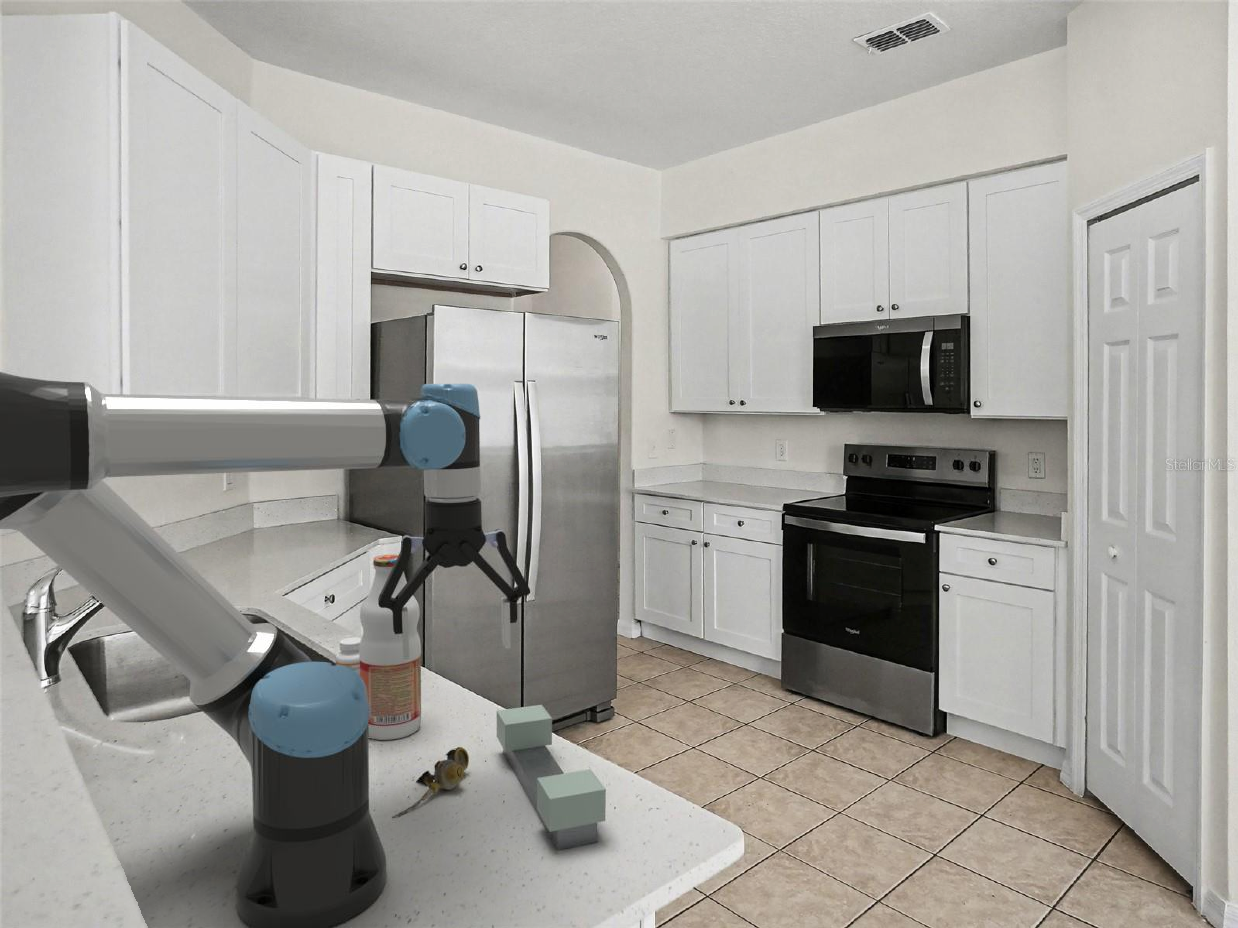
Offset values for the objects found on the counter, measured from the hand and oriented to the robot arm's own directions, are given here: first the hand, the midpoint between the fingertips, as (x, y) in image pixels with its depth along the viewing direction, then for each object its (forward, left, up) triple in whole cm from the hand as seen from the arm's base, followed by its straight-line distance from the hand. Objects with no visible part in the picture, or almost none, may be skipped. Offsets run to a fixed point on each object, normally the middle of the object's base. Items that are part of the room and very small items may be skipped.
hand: (457, 651), depth 109 cm
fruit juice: (-7, +21, -19) cm, 29 cm away
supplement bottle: (-12, +39, -19) cm, 45 cm away
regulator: (-3, -2, -19) cm, 19 cm away
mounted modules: (+11, -7, -16) cm, 20 cm away
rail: (+11, -7, -19) cm, 22 cm away
